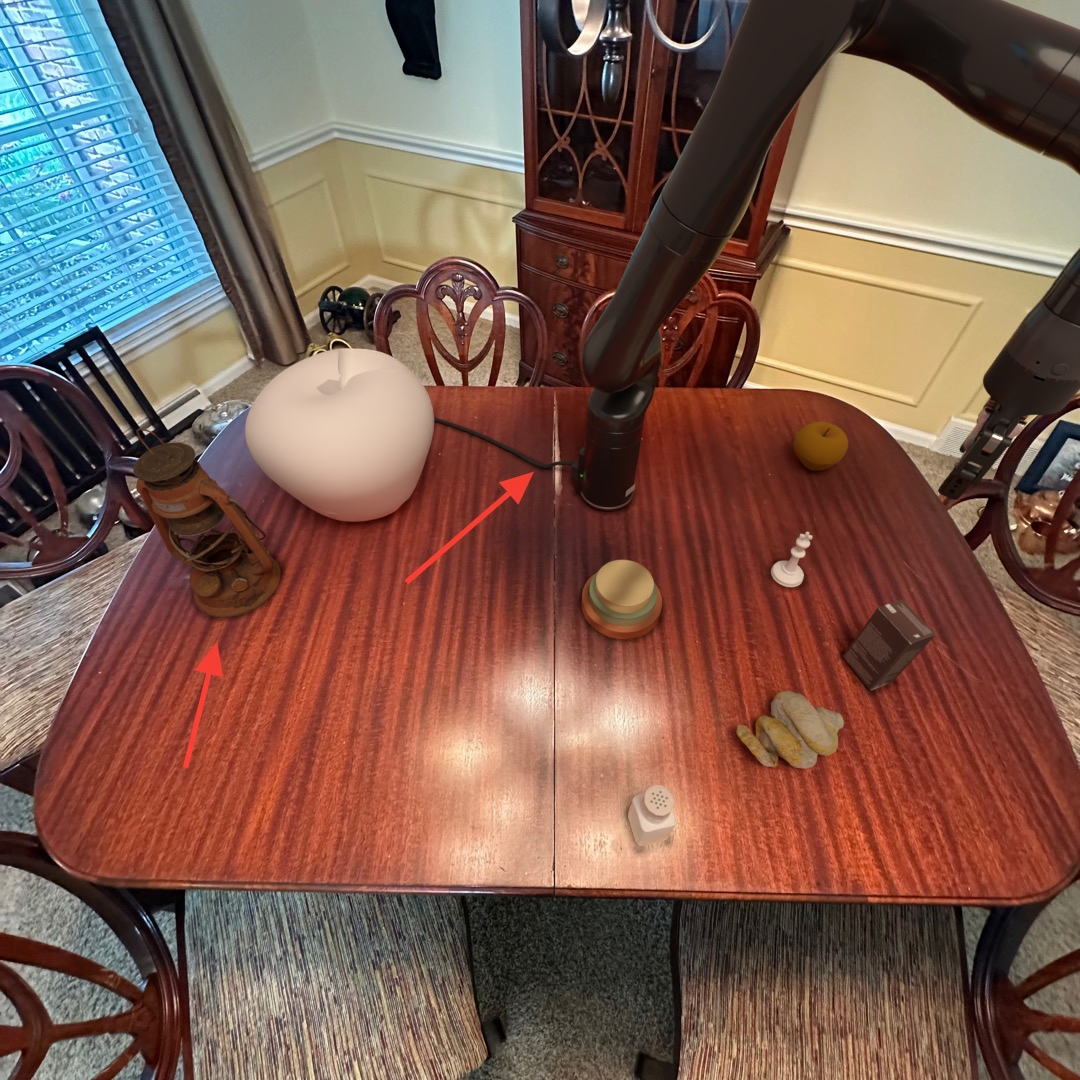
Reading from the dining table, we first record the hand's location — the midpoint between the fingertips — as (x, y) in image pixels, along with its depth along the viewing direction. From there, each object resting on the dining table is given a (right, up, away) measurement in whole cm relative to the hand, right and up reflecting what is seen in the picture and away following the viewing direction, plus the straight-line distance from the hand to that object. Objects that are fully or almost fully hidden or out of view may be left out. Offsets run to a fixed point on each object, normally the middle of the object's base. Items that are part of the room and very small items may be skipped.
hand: (957, 473), depth 70 cm
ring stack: (-36, -18, +22) cm, 46 cm away
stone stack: (-16, -33, +9) cm, 38 cm away
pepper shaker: (-36, -42, +1) cm, 55 cm away
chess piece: (-9, -13, +26) cm, 31 cm away
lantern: (-96, -15, +25) cm, 100 cm away
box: (-2, -26, +15) cm, 30 cm away
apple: (+2, +6, +43) cm, 44 cm away
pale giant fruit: (-79, 0, +38) cm, 88 cm away
